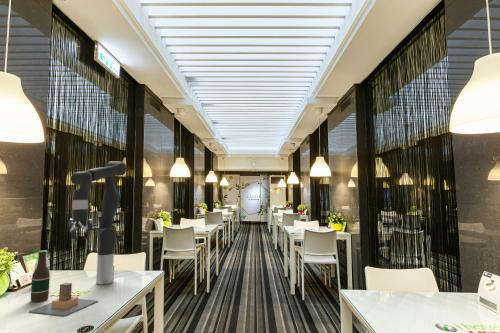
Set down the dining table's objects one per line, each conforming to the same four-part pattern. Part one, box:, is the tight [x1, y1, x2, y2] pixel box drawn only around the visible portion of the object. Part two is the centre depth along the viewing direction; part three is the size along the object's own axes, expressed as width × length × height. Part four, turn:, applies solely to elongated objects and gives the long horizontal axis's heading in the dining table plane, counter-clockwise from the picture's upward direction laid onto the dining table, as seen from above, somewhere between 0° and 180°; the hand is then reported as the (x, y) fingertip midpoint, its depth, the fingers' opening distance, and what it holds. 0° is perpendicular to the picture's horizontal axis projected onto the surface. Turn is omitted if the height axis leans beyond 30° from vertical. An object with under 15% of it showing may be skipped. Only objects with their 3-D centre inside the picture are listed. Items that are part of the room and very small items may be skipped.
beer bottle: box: [30, 250, 51, 303], centre depth 159 cm, size 8×8×24 cm
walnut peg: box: [58, 282, 73, 301], centre depth 148 cm, size 4×4×10 cm
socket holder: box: [28, 296, 99, 317], centre depth 148 cm, size 20×20×4 cm
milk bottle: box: [33, 249, 51, 272], centre depth 186 cm, size 8×8×20 cm
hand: (79, 238), depth 167 cm, fingers open, 8 cm apart
